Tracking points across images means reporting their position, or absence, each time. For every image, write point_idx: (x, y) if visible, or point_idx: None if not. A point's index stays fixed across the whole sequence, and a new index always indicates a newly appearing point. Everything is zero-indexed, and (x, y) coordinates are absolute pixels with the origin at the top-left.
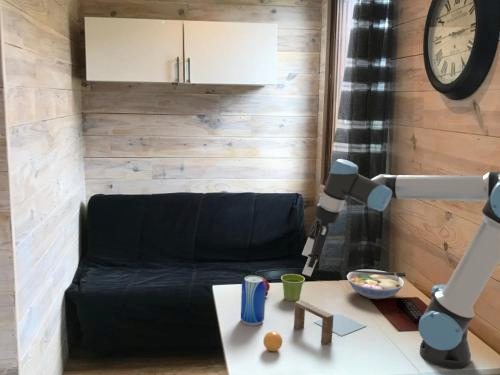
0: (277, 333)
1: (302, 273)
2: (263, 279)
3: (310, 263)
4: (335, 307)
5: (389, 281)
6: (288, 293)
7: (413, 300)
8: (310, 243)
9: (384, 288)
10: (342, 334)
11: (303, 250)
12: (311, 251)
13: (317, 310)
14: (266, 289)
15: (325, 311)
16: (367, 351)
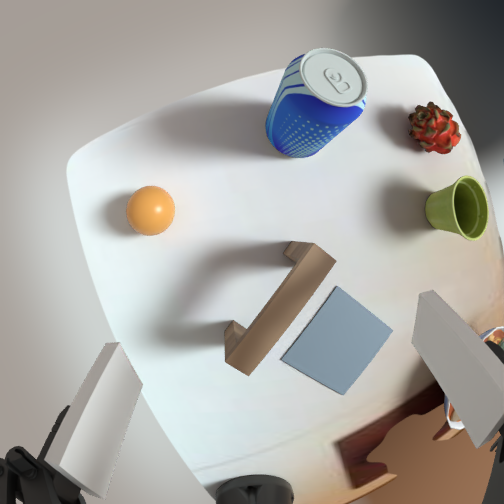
0: (149, 219)
1: (105, 344)
2: (452, 133)
3: (54, 432)
4: None
5: None
6: (436, 202)
7: (446, 425)
8: (472, 394)
9: None
10: (289, 360)
11: (440, 313)
12: (47, 499)
13: (266, 327)
14: (429, 145)
15: (267, 351)
16: (227, 411)
